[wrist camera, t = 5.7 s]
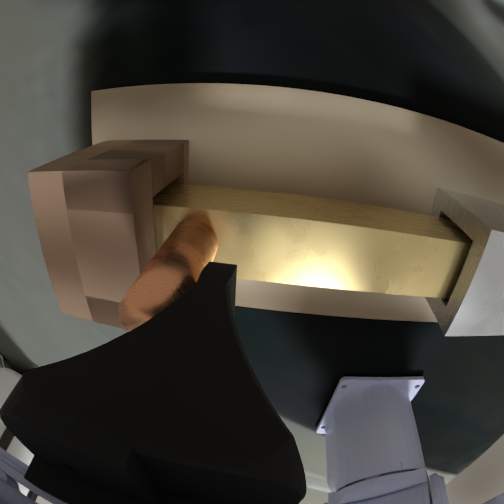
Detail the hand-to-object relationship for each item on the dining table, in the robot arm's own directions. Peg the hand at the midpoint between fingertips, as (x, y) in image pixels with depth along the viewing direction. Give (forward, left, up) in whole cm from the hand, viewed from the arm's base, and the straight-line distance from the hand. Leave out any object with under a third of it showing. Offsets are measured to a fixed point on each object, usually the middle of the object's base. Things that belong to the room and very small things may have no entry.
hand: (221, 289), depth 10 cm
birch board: (0, -7, -8) cm, 11 cm away
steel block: (0, -16, -7) cm, 18 cm away
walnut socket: (0, +6, -7) cm, 9 cm away
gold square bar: (0, -3, -6) cm, 7 cm away
